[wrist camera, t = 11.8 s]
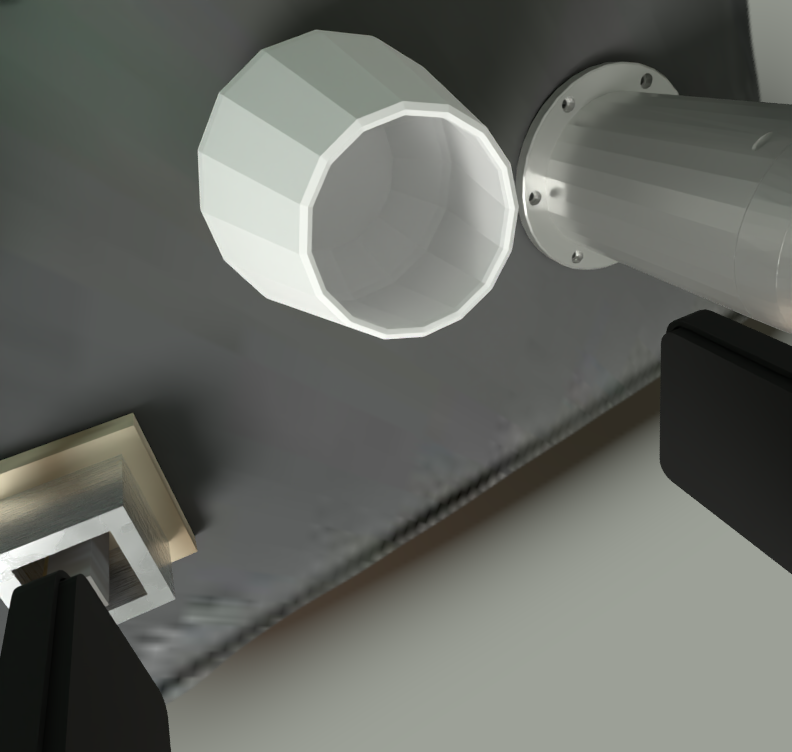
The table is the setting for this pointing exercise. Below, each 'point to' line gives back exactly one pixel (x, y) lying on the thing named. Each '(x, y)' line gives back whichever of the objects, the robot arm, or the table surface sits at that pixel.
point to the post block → (85, 452)
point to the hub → (89, 535)
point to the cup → (356, 186)
